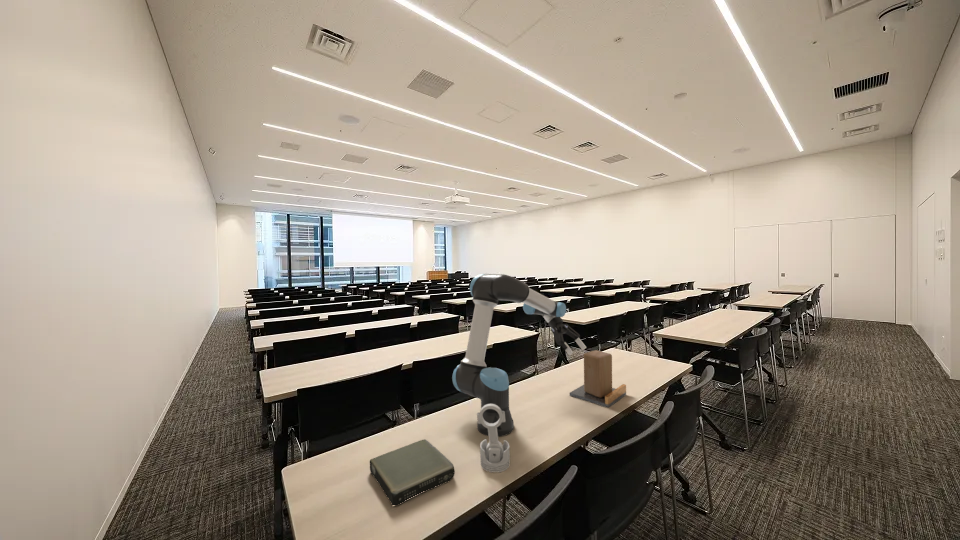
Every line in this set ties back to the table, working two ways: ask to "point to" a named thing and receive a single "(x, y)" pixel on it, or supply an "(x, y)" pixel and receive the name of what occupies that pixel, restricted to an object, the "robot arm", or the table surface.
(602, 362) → the wooden block
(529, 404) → the table surface
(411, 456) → the network switch
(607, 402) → the mounting plate
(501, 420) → the engine component
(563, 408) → the table surface
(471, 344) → the robot arm
